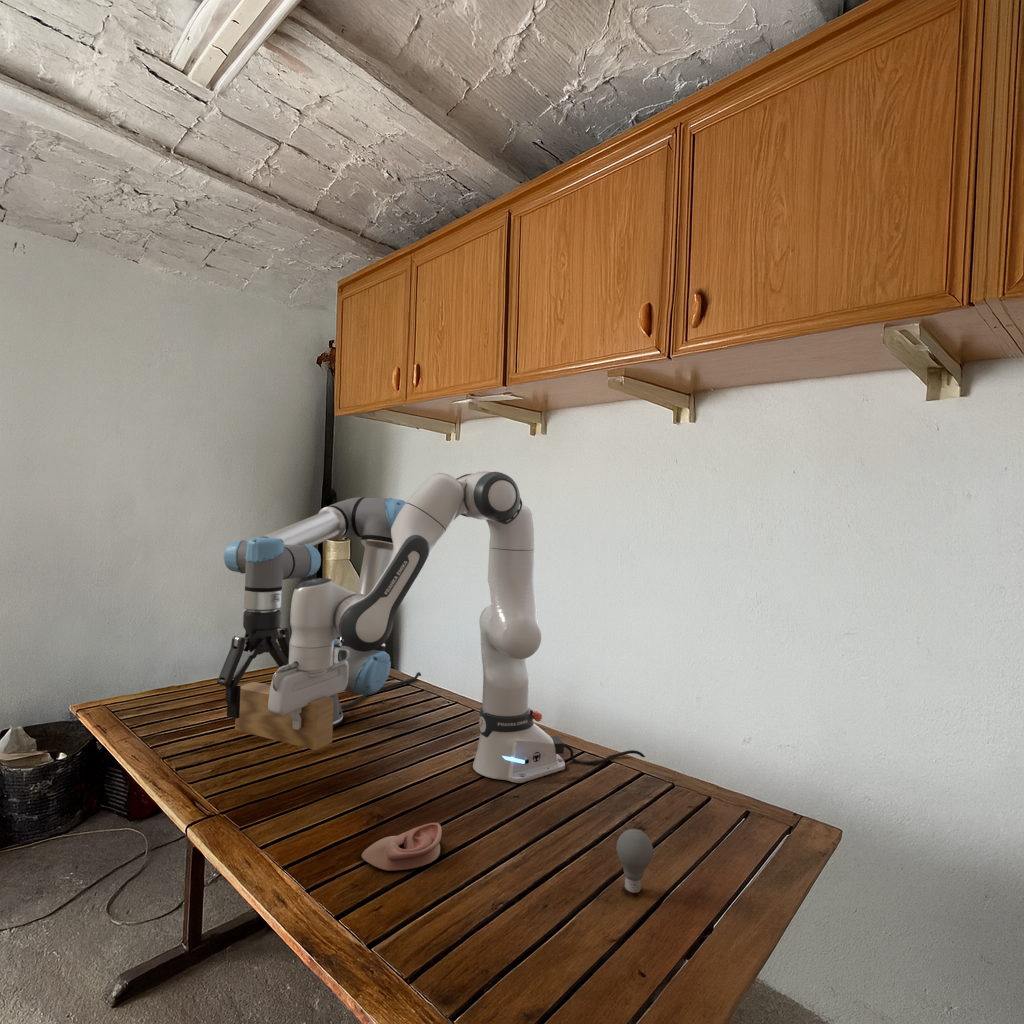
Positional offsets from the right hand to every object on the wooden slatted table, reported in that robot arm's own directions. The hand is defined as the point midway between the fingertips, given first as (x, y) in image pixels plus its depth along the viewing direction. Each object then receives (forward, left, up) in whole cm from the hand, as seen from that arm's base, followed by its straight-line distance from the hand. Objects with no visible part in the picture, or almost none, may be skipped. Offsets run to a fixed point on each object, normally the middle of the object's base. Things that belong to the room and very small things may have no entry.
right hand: (309, 723), depth 131 cm
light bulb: (-44, +52, -16) cm, 70 cm away
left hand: (+9, -10, +1) cm, 14 cm away
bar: (+4, -5, -4) cm, 8 cm away
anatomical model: (-12, +27, -16) cm, 34 cm away
